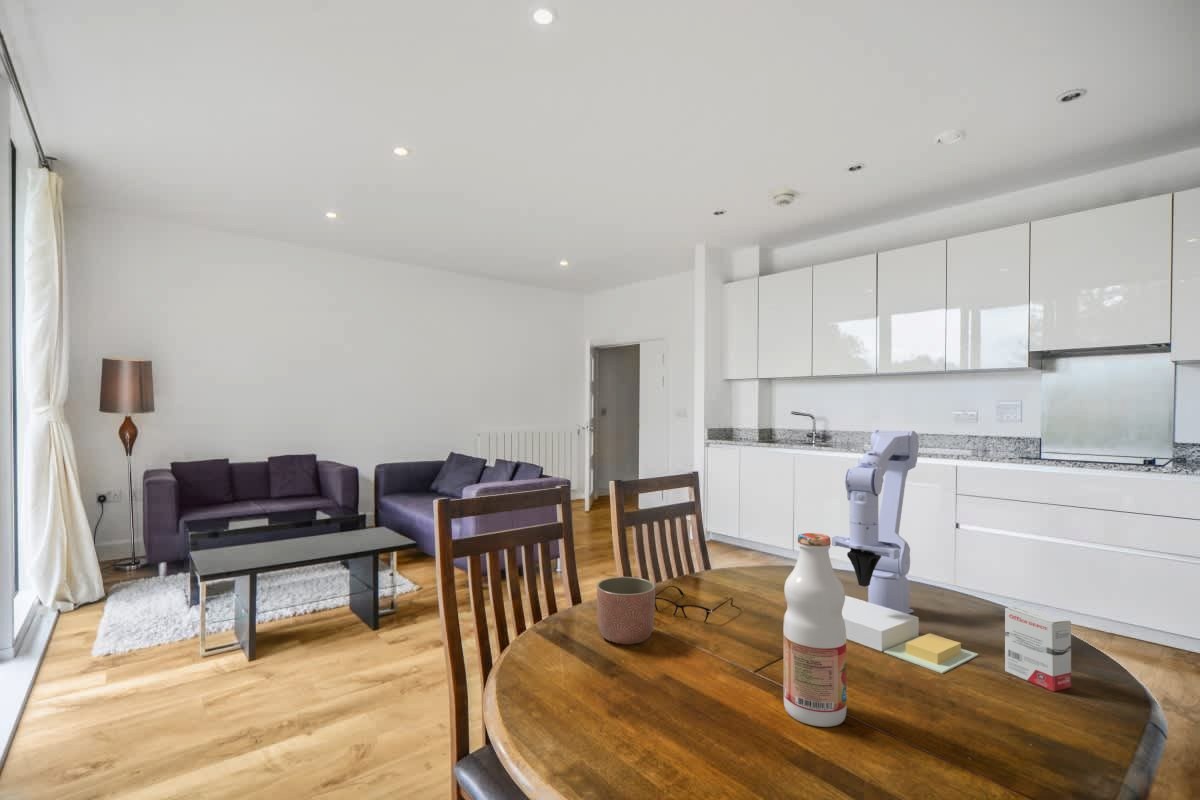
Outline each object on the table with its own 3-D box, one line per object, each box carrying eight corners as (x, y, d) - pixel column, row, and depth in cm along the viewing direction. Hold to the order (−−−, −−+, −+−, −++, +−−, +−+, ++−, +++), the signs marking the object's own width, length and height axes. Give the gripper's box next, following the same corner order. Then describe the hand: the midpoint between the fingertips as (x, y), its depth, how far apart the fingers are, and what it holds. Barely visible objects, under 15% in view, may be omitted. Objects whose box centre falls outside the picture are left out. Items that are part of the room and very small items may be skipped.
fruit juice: (772, 701, 96) (772, 531, 96) (823, 694, 98) (822, 528, 98) (804, 732, 87) (804, 544, 87) (860, 724, 89) (859, 541, 89)
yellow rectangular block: (960, 643, 114) (960, 653, 114) (929, 633, 119) (929, 642, 119) (937, 653, 109) (937, 664, 109) (905, 643, 114) (905, 653, 114)
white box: (827, 606, 141) (827, 589, 141) (918, 636, 123) (918, 617, 123) (789, 617, 134) (789, 600, 134) (881, 651, 115) (881, 631, 115)
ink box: (1072, 687, 100) (1072, 619, 101) (1053, 692, 99) (1053, 623, 99) (1022, 667, 109) (1021, 603, 109) (1003, 671, 107) (1003, 606, 107)
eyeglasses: (647, 612, 138) (647, 595, 138) (678, 595, 151) (678, 579, 151) (712, 627, 129) (712, 609, 129) (738, 607, 142) (738, 591, 142)
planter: (587, 643, 119) (587, 590, 119) (609, 622, 130) (609, 574, 131) (645, 653, 114) (645, 597, 114) (662, 630, 126) (662, 580, 126)
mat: (921, 636, 123) (921, 635, 123) (978, 655, 113) (978, 653, 113) (884, 652, 115) (884, 650, 115) (942, 673, 106) (942, 672, 106)
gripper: (823, 519, 130) (823, 579, 130) (885, 530, 118) (886, 597, 118) (842, 515, 134) (842, 574, 134) (904, 526, 122) (904, 591, 122)
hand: (864, 585), depth 126 cm, fingers closed
